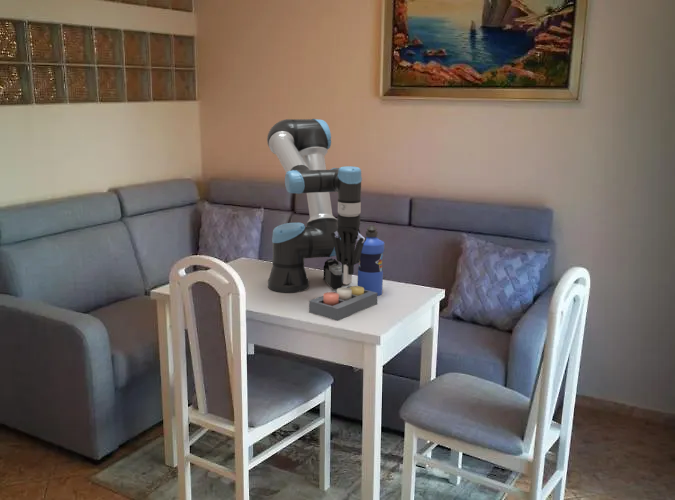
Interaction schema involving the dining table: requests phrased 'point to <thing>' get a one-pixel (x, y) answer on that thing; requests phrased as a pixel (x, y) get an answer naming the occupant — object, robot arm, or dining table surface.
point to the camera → (333, 274)
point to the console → (343, 305)
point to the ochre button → (357, 290)
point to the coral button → (331, 298)
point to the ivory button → (344, 293)
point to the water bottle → (371, 262)
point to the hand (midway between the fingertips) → (347, 283)
